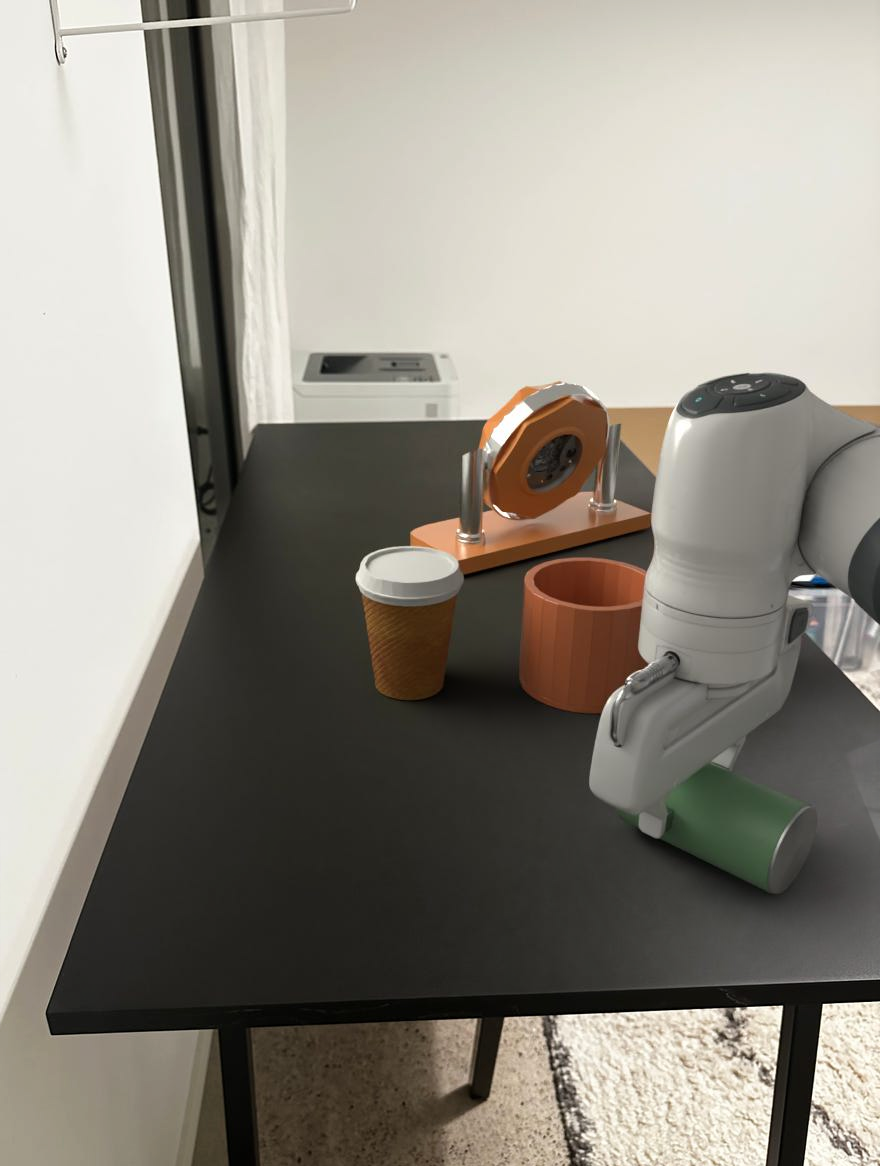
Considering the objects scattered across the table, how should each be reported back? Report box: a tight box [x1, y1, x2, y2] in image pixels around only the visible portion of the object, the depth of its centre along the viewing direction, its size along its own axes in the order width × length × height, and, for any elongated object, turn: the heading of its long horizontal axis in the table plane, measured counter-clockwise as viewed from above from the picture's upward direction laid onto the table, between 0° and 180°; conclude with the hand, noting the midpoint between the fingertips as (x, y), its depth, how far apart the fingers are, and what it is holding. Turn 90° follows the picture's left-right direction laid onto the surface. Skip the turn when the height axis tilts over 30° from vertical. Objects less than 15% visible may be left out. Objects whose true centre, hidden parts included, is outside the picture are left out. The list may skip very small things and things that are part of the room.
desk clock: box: [409, 380, 652, 576], centre depth 126 cm, size 12×30×20 cm, turn 123°
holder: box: [518, 557, 649, 714], centre depth 95 cm, size 12×12×10 cm
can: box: [614, 762, 818, 895], centre depth 72 cm, size 12×6×6 cm, turn 45°
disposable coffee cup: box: [355, 545, 465, 701], centre depth 94 cm, size 10×10×12 cm
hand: (685, 806), depth 74 cm, fingers closed on can, 6 cm apart
